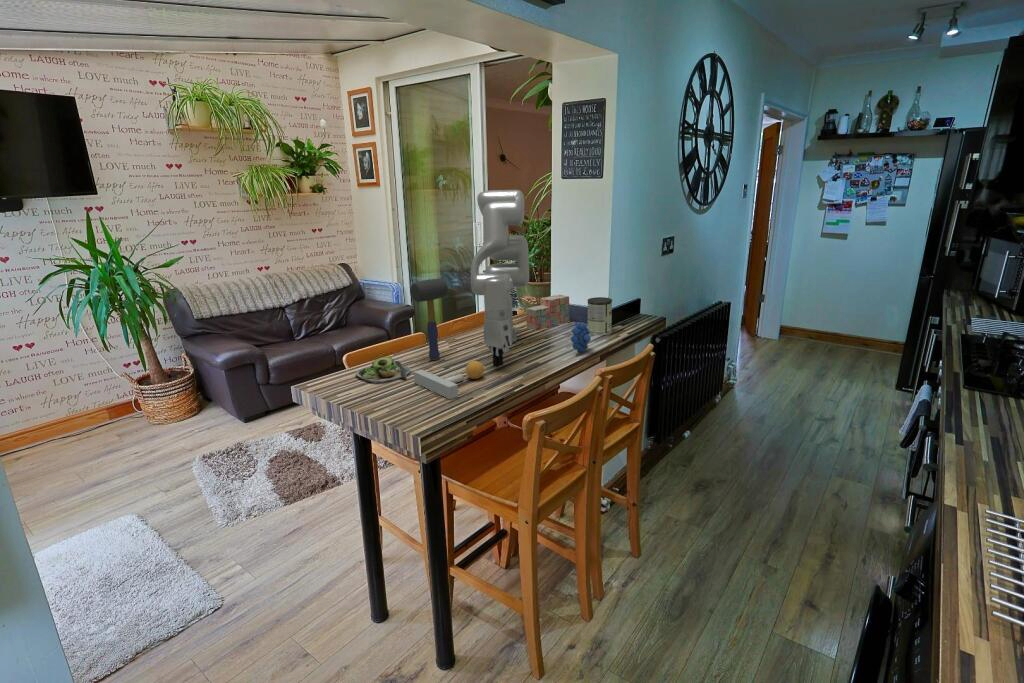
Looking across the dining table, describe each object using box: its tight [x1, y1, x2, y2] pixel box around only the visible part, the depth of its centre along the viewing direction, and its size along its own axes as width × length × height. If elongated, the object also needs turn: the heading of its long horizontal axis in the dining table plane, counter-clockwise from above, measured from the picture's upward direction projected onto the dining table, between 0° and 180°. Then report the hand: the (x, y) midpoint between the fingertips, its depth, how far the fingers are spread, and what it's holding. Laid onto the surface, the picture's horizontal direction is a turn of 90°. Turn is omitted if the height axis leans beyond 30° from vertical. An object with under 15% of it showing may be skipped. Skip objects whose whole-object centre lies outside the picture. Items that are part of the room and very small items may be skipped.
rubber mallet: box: [409, 278, 449, 361], centre depth 191 cm, size 12×8×30 cm, turn 133°
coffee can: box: [587, 296, 613, 336], centre depth 222 cm, size 10×10×14 cm
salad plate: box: [355, 355, 412, 384], centre depth 180 cm, size 19×18×5 cm
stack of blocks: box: [525, 294, 570, 331], centre depth 237 cm, size 21×6×12 cm, turn 131°
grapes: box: [570, 321, 591, 354], centre depth 195 cm, size 12×7×12 cm, turn 141°
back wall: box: [413, 369, 459, 400], centre depth 165 cm, size 3×20×4 cm, turn 42°
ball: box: [465, 360, 485, 380], centre depth 173 cm, size 6×6×6 cm
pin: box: [444, 373, 464, 384], centre depth 170 cm, size 2×2×8 cm
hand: (498, 365), depth 182 cm, fingers closed
